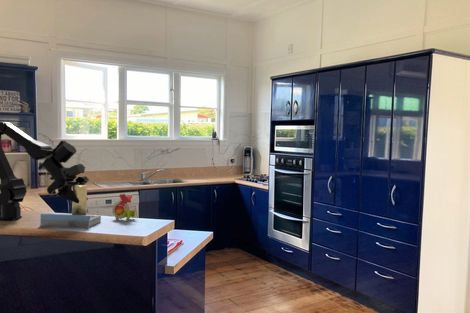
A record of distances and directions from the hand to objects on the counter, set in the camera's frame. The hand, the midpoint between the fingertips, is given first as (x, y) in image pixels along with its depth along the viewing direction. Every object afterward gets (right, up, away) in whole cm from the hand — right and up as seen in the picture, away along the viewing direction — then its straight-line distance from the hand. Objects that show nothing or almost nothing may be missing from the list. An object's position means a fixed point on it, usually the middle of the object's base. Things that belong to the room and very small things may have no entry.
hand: (82, 201), depth 144 cm
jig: (-5, -9, +1) cm, 10 cm away
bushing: (-2, -7, +1) cm, 7 cm away
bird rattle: (+12, -9, +11) cm, 19 cm away
